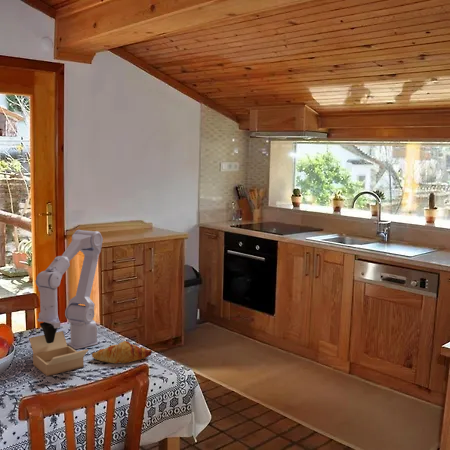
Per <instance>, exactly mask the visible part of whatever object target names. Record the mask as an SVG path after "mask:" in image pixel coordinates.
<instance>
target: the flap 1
mask: <svg viewBox="0 0 450 450" xmlns="http://www.w3.org/2000/svg"><path fill="white" fill-rule="evenodd" d="M28 339H29V343H30V347H31V350H32V353H33V354H35V353H39V352H44V351H48V350H52V349H57V348H61V347H65V346H68V344H67V340H66V337H65V333H64V331H63V330H62V331H56V334H55V338H54V342H53V343H47V342H46V339H45V335H44V334H42V335H38V336H33V337H29V338H28ZM33 354H32V355H33Z"/></svg>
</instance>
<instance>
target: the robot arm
mask: <svg viewBox="0 0 450 450" xmlns="http://www.w3.org/2000/svg"><path fill="white" fill-rule="evenodd" d="M103 242H104V238H103V236H102V234H101V232H100V231H99V230H95V231H93V230H82V229H77V230H75V231H74V232H73V234H72V235H71V242H70V243H69V245H68V246H67V247H66V249H65V251H64V252H63V253H62V254H61V255H57V256H56V257H55V258H54V259H53V260H52V261H51V263H50V264H49V265H48V267H47V268H46V269H45V270H42V271H41V272H39V273H38V274H37V276H36V279H35V284H36V286H37V288H38V292H39V301H40V303H39V305H40V306H39V307H40V312H38V318H37V320H36V321H37V322H39V326H40V328H41V330H42V331H43V335H45V339H46V342H47V343H53V342H54V338H55V334H56V332H58V331H57V330H58V328H61V321H60V319H59V314H58V311H59V309H58V308H59V307H58V287H60V285H61V282H62V281H61V280H62V278H63V275H64V274H65V273H66V271H67V270H68V269H69V267H70V266H71V264H70V263H71V260H73V258H74V257H75V256H76V255H77V254H78V253H79V252H81V253H82V254H83V256H84V257H83V261H82V266H81V271H80V275H79V279H78V285H77V288H76V293H75V296H73V297H72V298H70V299H69V301H68V304H67V306H66V308H65V312H64V315H65V318H66V319H67V320H68V323H69V324H70V326H69V327H70V329H69V330H70V341H66V343H67V346H70V347H71V348H73V349H74V350H79V349H82V348H87V347H92V346H95V345H98V344H99V342H98V327H97V323H96V321H95V319H94V317H95V305H96V304H95V303H94V302H93V299H91V293H92V289H93V285H94V281H95V276H96V271H97V266H98V261H99V255H100V254H101V250H102V246H103Z"/></svg>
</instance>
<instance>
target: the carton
mask: <svg viewBox="0 0 450 450" xmlns="http://www.w3.org/2000/svg"><path fill="white" fill-rule="evenodd" d="M74 352H78V350H77V349H74V348H72V347H71V346H69V345H67V346H65V347H61V348H57V349H52V350H48V351H44V352H39V353H35V354H32V360H33V361H32V365H33V366H34V367H35V368H36V369H38V370H39V371H40V372H41V373H43V374H44V376H46V377H50V376H53V375H58V374H60V373H65V372H70V371H72V370H76V369H80V368H84V367H85V365H84V364H85V363H84V357H82V358H78V359H74V360H70V361H66V362H62V363H58V364H54V365H50V366H48V364H49V362H50V361H51V360H52V358H53V357H57V356H61V355H65V354H69V353H74Z"/></svg>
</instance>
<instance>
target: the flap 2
mask: <svg viewBox="0 0 450 450" xmlns="http://www.w3.org/2000/svg"><path fill="white" fill-rule="evenodd" d="M88 352H89V349H88V348H87V349H83V350H77V352H74V353H69V354H65V355H61V356H57V357H53V358H52V360H51V361H50V362H49V364H48V366H50V365H54V364H58V363H62V362H66V361H70V360H74V359H78V358H82V357H83V358H84V357H85V356H86V354H87V353H88Z"/></svg>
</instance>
